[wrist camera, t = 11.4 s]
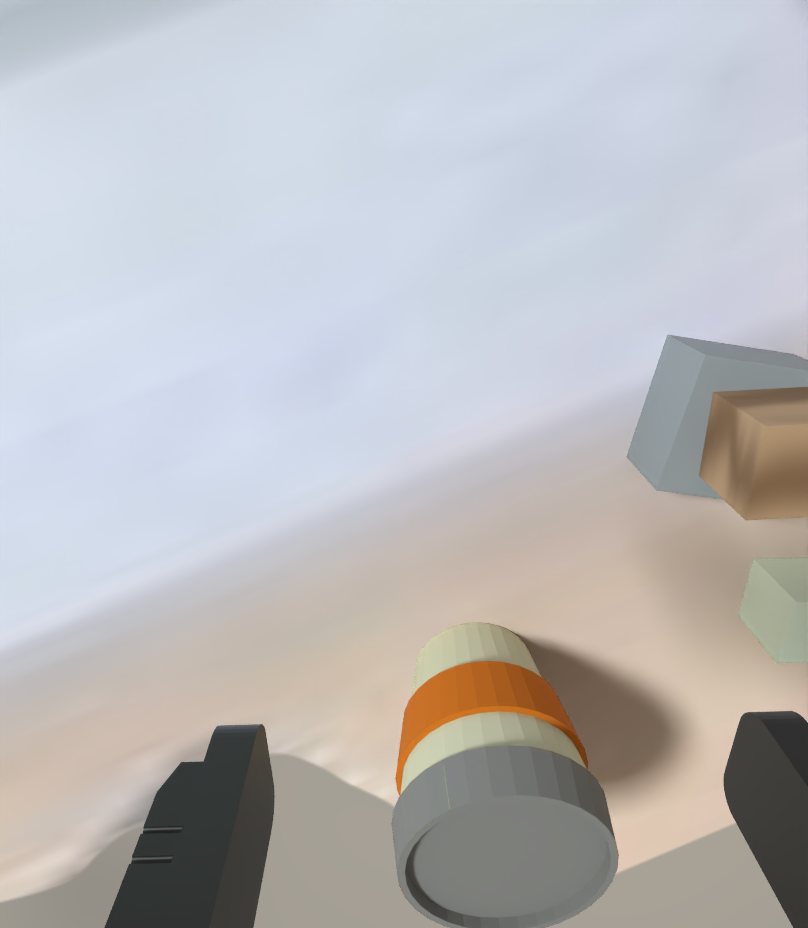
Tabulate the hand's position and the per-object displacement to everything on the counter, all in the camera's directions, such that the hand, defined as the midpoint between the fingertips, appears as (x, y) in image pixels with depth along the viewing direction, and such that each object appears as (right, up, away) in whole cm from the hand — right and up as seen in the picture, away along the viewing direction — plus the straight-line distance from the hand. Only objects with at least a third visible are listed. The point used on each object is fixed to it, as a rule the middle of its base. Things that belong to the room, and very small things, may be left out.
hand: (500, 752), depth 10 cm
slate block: (+17, +9, +28) cm, 34 cm away
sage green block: (+26, -4, +33) cm, 42 cm away
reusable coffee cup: (+4, -11, +36) cm, 38 cm away
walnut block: (+18, +7, +23) cm, 30 cm away
